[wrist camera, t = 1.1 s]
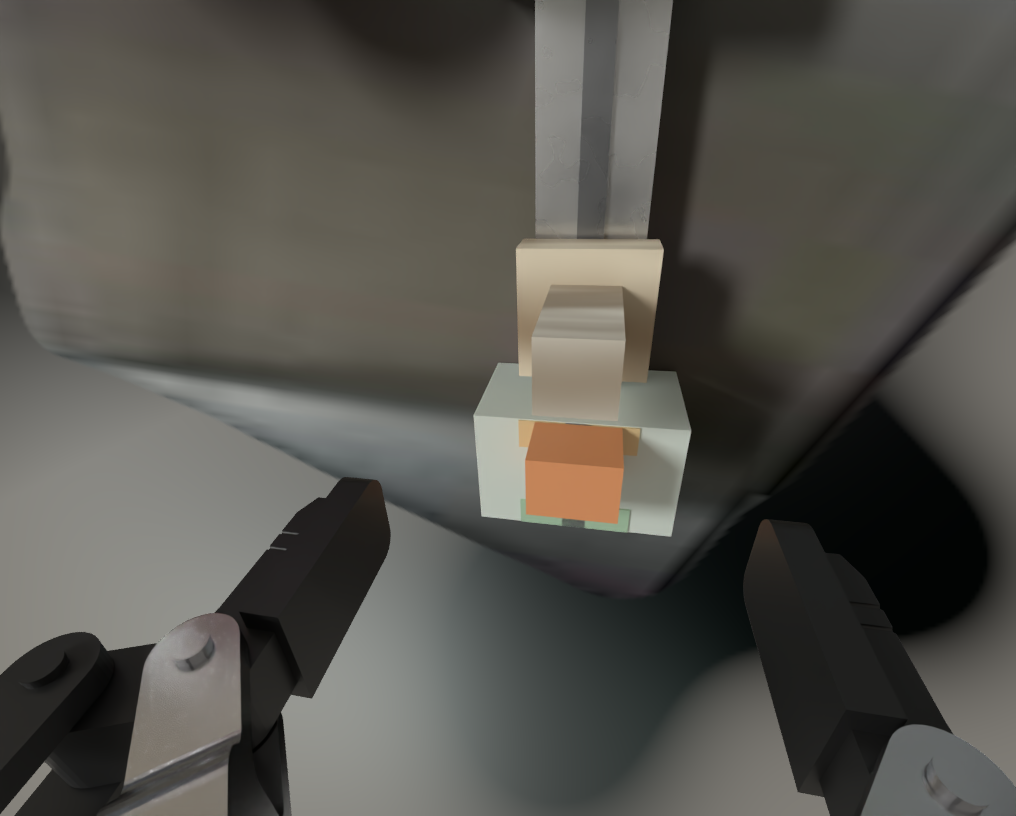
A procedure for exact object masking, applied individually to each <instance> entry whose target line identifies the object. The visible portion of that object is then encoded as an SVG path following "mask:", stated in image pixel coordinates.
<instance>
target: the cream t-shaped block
mask: <svg viewBox="0 0 1016 816" xmlns="http://www.w3.org/2000/svg"><path fill="white" fill-rule="evenodd" d="M663 252H664V249H663V246H662V244H661V241H660V239H523V240H522V241H521V243H520V244H519V245H518V247H517V248H516V267H517V310H518V353H519V376H530V377H532V415H533V416H548V417H563V418H577V419H592V420H606V421H618V413H619V403H620V393H621V383H622V382H641V383H647V377H648V369H649V361H650V353H651V346H652V338H653V330H654V322H655V315H656V307H657V299H658V291H659V283H660V276H661V268H662V260H663Z"/></svg>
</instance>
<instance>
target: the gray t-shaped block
mask: <svg viewBox="0 0 1016 816" xmlns="http://www.w3.org/2000/svg"><path fill="white" fill-rule="evenodd" d="M672 5H673V0H535V140H536V239H647V233H648V224H649V215H650V206H651V196H652V187H653V178H654V169H655V160H656V151H657V142H658V133H659V124H660V115H661V105H662V96H663V87H664V78H665V69H666V60H667V51H668V42H669V33H670V24H671V14H672Z"/></svg>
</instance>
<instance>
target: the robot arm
mask: <svg viewBox="0 0 1016 816" xmlns="http://www.w3.org/2000/svg"><path fill="white" fill-rule="evenodd" d="M282 531H283V532H282V534H279V535H278V537H277V538H276V539H275V540H274V541H273V543H272V544H271V545H270V549H269V550H266V551H265V552H264V554H263V555H262V556H261V557H260V559H259V560H258V561H257V562H256V564H255V565H254V566H253V567H252V568H251V570H250V571H249V572H248V573H247V575H246V576H245V577H244V578H243V580H242V581H241V582H240V583H239V584H238V586H237V587H236V588H235V589H234V591H233V592H232V593H231V594H230V595H229V597H228V598H227V599H226V600H225V602H224V603H223V604H222V605H221V606H220V608H219V609H218V610H217V611H216V612H215V613H210V614H205V615H201V616H198V617H195V618H192V619H190V620H187V621H186V622H184V623H182V624H180V625H179V626H177V627H176V628H174V629H172V630H171V631H170V632H169V633H168V634H166V635H165V636H164V637H163V638H162V639H161V640H160V641H159V642H158V643H156V644H149V645H143V646H136V647H130V648H124V649H118V650H111V651H107V650H106V649H105V648H104V646H103V645H102V644H101V642H100V641H99V639H98V638H97V637H96V636H95V635H93V634H90V633H86V632H75V633H70V634H65V635H61V636H59V637H56V638H53V639H51V640H49V641H47V642H44V643H42V644H41V645H39V646H37V647H35V648H33V649H32V650H30V651H29V652H27V653H26V654H24V655H23V656H22V657H20V658H19V659H18V660H17V661H15V662H14V663H13V664H12V665H11V666H10V667H8V668H7V669H6V670H5V671H4V672H3V673H2V674H1V675H0V814H1V812H2V811H3V810H4V809H5V808H6V806H7V805H8V804H9V803H10V802H11V800H12V799H13V798H14V797H15V796H16V795H17V793H18V792H19V791H20V790H21V788H22V787H23V786H24V785H25V784H26V783H27V781H28V780H29V779H30V778H31V777H32V775H33V774H34V773H35V772H36V771H37V769H38V768H39V767H40V766H41V765H42V764H43V762H46V763H47V764H48V765H49V766H50V767H51V768H52V770H51V772H50V773H49V774H48V775H47V776H46V778H45V779H44V780H43V781H42V783H41V784H40V785H39V787H37V789H36V790H35V791H34V792H33V794H32V795H31V796H30V797H29V798H28V800H27V801H26V802H25V803H24V805H23V806H22V807H21V808H20V810H19V811H18V812H17V813H16V815H15V816H292V814H291V803H290V791H289V780H288V769H287V759H286V747H285V735H284V724H283V717H282V714H281V711H282V709H283V707H284V705H285V704H286V702H287V700H288V699H289V697H290V695H296V696H301V697H307V698H312V697H313V696H314V694H315V692H316V690H317V688H318V686H319V684H320V682H321V680H322V678H323V676H324V675H325V673H326V670H327V669H328V667H329V665H330V663H331V661H332V659H333V657H334V655H335V654H336V652H337V650H338V648H339V646H340V644H341V642H342V640H343V638H344V636H345V634H346V632H347V631H348V629H349V627H350V625H351V623H352V621H353V619H354V617H355V615H356V613H357V611H358V610H359V608H360V606H361V604H362V602H363V600H364V598H365V596H366V594H367V592H368V590H369V589H370V587H371V585H372V583H373V581H374V579H375V577H376V575H377V573H378V571H379V569H380V567H381V565H382V564H383V562H384V560H385V558H386V556H387V553H388V550H389V545H390V526H389V521H388V517H387V512H386V508H385V502H384V497H383V493H382V488H381V485H380V483H379V481H377V480H371V479H361V478H351V477H344V478H342V479H341V480H340V481H339V482H338V483H337V484H336V486H335V487H334V488H333V490H332V491H331V492H330V493H329V495H328V496H327V497H326V498H317V499H316V500H314V501H313V502H311V503H310V504H308V505H307V506H306V507H304V508H303V509H301V510H300V511H298V512H297V513H296V514H295V516H294V517H293V518H292V519H291V521H290V522H289V523H288V524H287V525H286V527H285V528H284V529H283V530H282ZM744 599H745V604H746V608H747V612H748V616H749V619H750V623H751V626H752V630H753V633H754V637H755V640H756V644H757V648H758V651H759V655H760V658H761V662H762V666H763V669H764V672H765V676H766V680H767V683H768V687H769V691H770V693H771V697H772V701H773V705H774V708H775V712H776V716H777V719H778V723H779V726H780V730H781V733H782V736H783V740H784V744H785V747H786V751H787V755H788V758H789V762H790V765H791V769H792V773H793V776H794V780H795V783H796V787H797V790H798V792H800V793H806V794H811V795H817V796H822V797H824V798H825V800H826V804H827V807H828V810H829V813H830V816H1016V787H1015V786H1014V785H1013V783H1012V782H1011V781H1010V779H1009V778H1008V777H1007V776H1006V775H1005V774H1004V773H1003V771H1002V770H1001V769H1000V768H999V767H998V766H997V765H996V764H994V763H993V762H992V761H991V760H990V759H989V758H988V757H987V756H985V755H984V754H983V753H982V752H980V751H979V750H978V749H976V748H975V747H973V746H972V745H970V744H969V743H968V742H966V741H964V740H962V739H961V738H959V737H957V736H955V735H954V734H953V733H952V732H951V730H950V728H949V727H948V725H947V724H946V722H945V720H944V719H943V717H942V715H941V713H940V711H939V709H938V708H937V706H936V704H935V703H934V701H933V699H932V697H931V695H930V693H929V692H928V690H927V688H926V686H925V684H924V683H923V681H922V679H921V677H920V676H919V674H918V672H917V670H916V669H915V667H914V665H913V663H912V662H911V660H910V658H909V656H908V654H907V652H906V651H905V649H904V647H903V645H902V643H901V642H900V640H899V638H898V636H897V635H896V633H893V631H892V628H893V627H892V626H891V624H890V622H889V620H888V619H887V617H886V615H885V613H884V611H883V610H880V604H879V602H878V601H877V599H876V597H875V595H874V594H873V592H872V590H871V588H870V586H869V585H868V583H867V581H866V580H865V578H864V577H863V576H862V575H861V574H860V573H859V572H858V571H857V570H856V569H855V568H854V567H852V566H851V565H850V564H849V563H848V562H847V561H846V560H845V559H844V558H843V557H842V556H841V555H839V554H830V553H825V552H824V551H823V548H822V546H821V544H820V542H819V540H818V538H817V536H816V534H815V532H814V530H813V529H812V527H811V526H810V525H808V524H807V523H798V522H787V521H777V520H767V519H765V520H763V521H762V522H761V524H760V526H759V529H758V533H757V536H756V539H755V542H754V545H753V549H752V552H751V555H750V558H749V561H748V565H747V568H746V571H745V576H744Z"/></svg>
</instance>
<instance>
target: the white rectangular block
mask: <svg viewBox="0 0 1016 816" xmlns="http://www.w3.org/2000/svg"><path fill="white" fill-rule="evenodd" d="M535 422H542V423H556V424H570V425H584V426H598V427H612V428H622V429H623V458H624V472H623V481H622V490H621V499H620V507H619V516H618V524H613V523H603V522H594V521H584V520H575V519H565V518H556V517H546V516H536V515H527V514H526V485H525V458H526V455H527V451H528V447H529V443H530V439H531V435H532V431H533V427H534V423H535ZM474 426H475V439H476V451H477V464H478V476H479V489H480V501H481V514H482V516H484V517H493V518H502V519H512V520H521V521H524V522H534V523H543V524H552V525H562V526H571V527H580V528H590V529H599V530H608V531H617V532H633V533H642V534H652V535H661V536H670V537H671V534H672V528H673V523H674V518H675V513H676V508H677V502H678V497H679V492H680V487H681V482H682V476H683V471H684V466H685V461H686V456H687V450H688V445H689V440H690V435H691V428H690V424H689V420H688V416H687V412H686V408H685V404H684V400H683V397H682V393H681V389H680V385H679V381H678V377H677V373H676V372H674V371H654V370H648V377H647V383H641V382H622V383H621V393H620V403H619V413H618V421H606V420H592V419H577V418H563V417H548V416H533V415H532V377H530V376H519V364H514V363H498V365H497V367H496V369H495V371H494V373H493V375H492V377H491V380H490V382H489V384H488V386H487V388H486V390H485V392H484V394H483V397H482V399H481V401H480V403H479V405H478V407H477V409H476V411H475V414H474Z"/></svg>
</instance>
